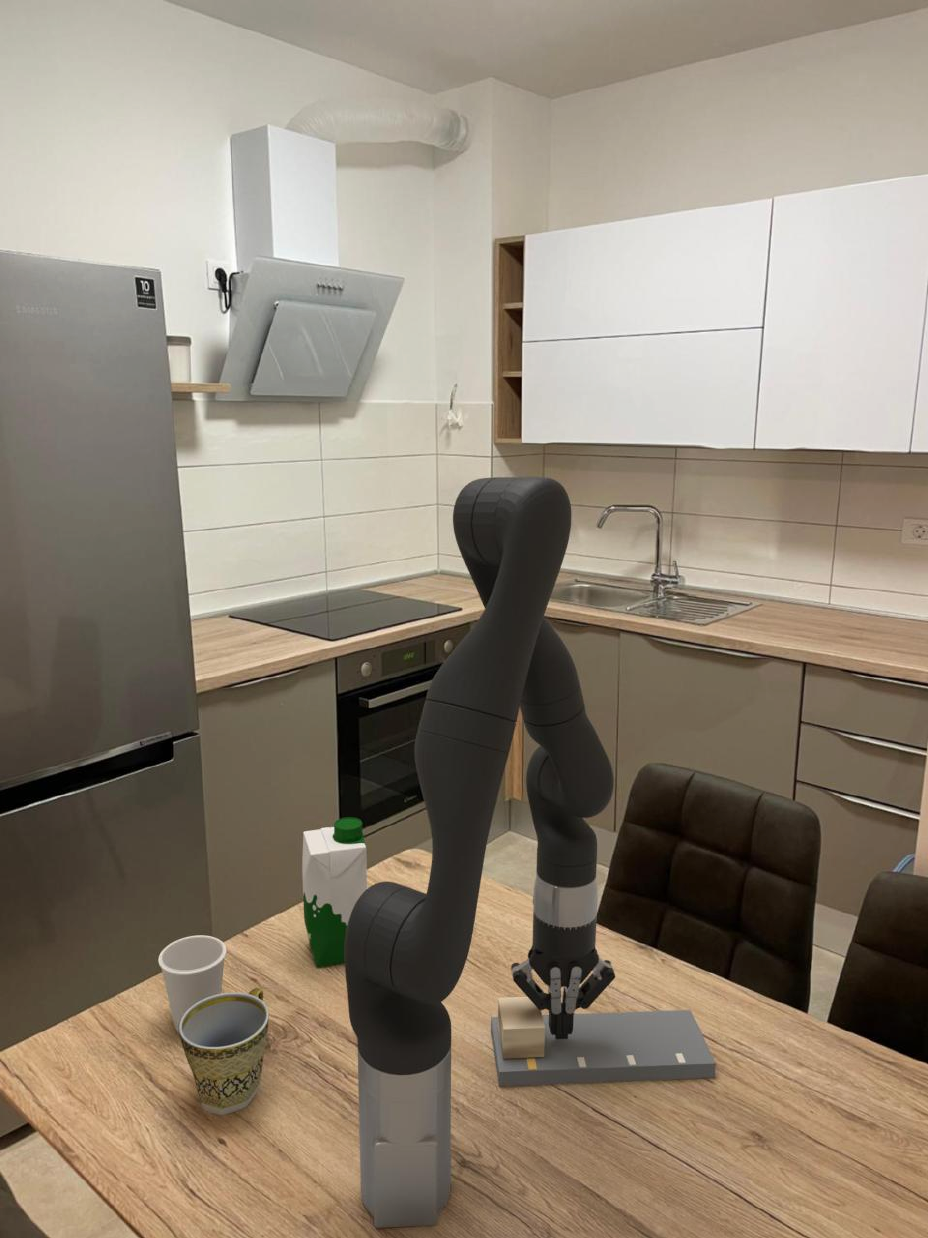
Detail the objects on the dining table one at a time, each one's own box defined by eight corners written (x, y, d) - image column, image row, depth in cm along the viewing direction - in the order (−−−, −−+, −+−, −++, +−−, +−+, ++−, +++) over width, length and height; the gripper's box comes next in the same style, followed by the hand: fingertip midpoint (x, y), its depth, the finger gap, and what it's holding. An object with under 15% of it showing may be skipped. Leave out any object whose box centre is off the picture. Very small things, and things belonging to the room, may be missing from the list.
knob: (544, 1057, 111) (545, 1028, 110) (502, 1058, 111) (503, 1029, 110) (537, 1024, 117) (537, 996, 116) (497, 1025, 117) (498, 998, 116)
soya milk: (373, 962, 133) (370, 834, 129) (310, 973, 131) (305, 843, 126) (361, 930, 141) (358, 808, 137) (301, 939, 139) (297, 816, 134)
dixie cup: (168, 1050, 115) (163, 979, 113) (159, 1011, 122) (153, 943, 120) (236, 1031, 119) (232, 962, 116) (223, 994, 126) (219, 928, 124)
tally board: (714, 1077, 111) (715, 1062, 110) (498, 1086, 109) (499, 1071, 109) (689, 1023, 121) (690, 1009, 120) (490, 1030, 119) (491, 1016, 118)
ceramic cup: (242, 1136, 102) (238, 1057, 99) (165, 1113, 105) (159, 1036, 103) (300, 1059, 114) (297, 987, 111) (229, 1041, 117) (225, 970, 114)
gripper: (513, 926, 106) (510, 1058, 110) (627, 923, 107) (620, 1054, 111) (506, 893, 113) (503, 1017, 117) (613, 890, 114) (607, 1013, 118)
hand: (560, 1034), depth 114 cm, fingers closed
